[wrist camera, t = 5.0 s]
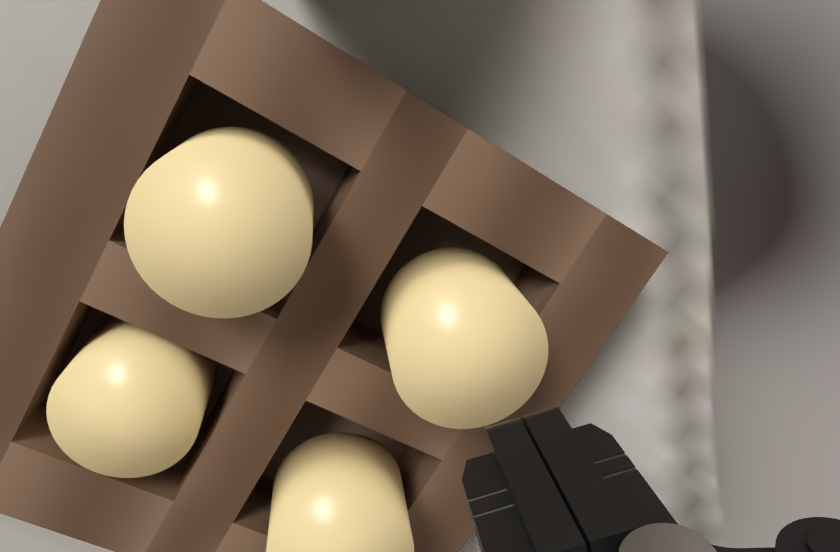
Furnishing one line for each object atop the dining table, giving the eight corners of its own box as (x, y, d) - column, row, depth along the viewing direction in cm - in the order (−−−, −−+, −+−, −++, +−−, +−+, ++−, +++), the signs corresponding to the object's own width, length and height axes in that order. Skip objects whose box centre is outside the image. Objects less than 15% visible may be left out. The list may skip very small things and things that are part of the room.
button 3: (131, 232, 18) (93, 269, 15) (198, 96, 17) (172, 106, 14) (271, 299, 19) (261, 346, 16) (340, 175, 18) (344, 200, 15)
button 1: (64, 391, 22) (23, 445, 19) (116, 286, 21) (81, 326, 18) (184, 439, 23) (163, 497, 20) (237, 341, 22) (225, 387, 19)
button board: (-39, 406, 23) (-110, 476, 19) (171, -53, 19) (134, -78, 15) (383, 563, 28) (393, 644, 24) (614, 220, 24) (668, 252, 20)
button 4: (355, 339, 20) (360, 391, 17) (425, 222, 19) (445, 254, 16) (468, 394, 21) (493, 451, 18) (540, 286, 20) (578, 327, 17)
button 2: (250, 513, 21) (238, 589, 18) (311, 412, 21) (309, 474, 18) (362, 555, 23) (368, 632, 20) (424, 461, 22) (441, 527, 19)
